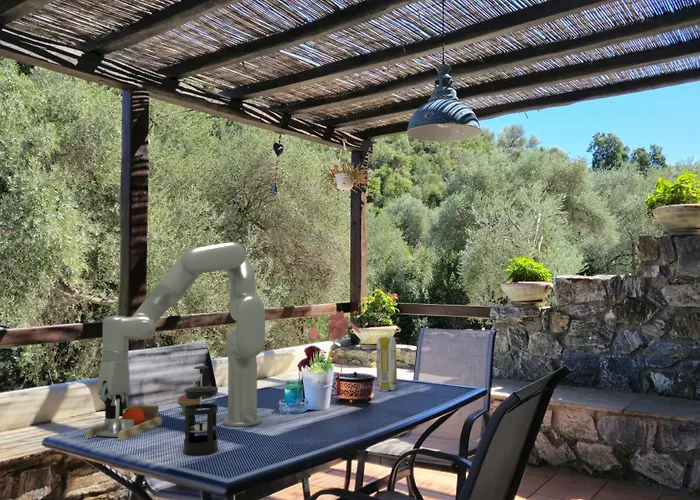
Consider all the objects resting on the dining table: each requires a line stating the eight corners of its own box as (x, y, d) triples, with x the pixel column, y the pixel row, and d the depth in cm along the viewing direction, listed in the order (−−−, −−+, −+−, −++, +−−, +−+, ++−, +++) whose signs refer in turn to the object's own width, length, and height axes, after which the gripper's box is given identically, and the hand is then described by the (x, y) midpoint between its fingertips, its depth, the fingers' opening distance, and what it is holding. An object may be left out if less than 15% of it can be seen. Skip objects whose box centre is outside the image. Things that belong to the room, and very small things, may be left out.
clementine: (125, 433, 185) (125, 409, 185) (114, 429, 189) (114, 407, 190) (148, 428, 191) (148, 405, 191) (137, 425, 195) (137, 403, 196)
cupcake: (190, 410, 220) (190, 377, 221) (207, 412, 216) (207, 378, 216) (172, 414, 212) (172, 380, 213) (189, 416, 208) (190, 382, 209)
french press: (226, 451, 162) (227, 366, 164) (196, 458, 156) (197, 369, 157) (202, 444, 170) (203, 362, 172) (172, 450, 163) (173, 366, 165)
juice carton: (394, 392, 255) (393, 335, 257) (376, 391, 257) (375, 335, 258) (397, 388, 264) (396, 334, 266) (380, 388, 266) (379, 334, 268)
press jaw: (107, 431, 185) (108, 396, 186) (133, 432, 183) (134, 397, 184) (95, 435, 180) (96, 400, 181) (122, 437, 178) (123, 401, 178)
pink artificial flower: (303, 395, 248) (305, 311, 250) (349, 388, 266) (350, 309, 268) (327, 401, 237) (328, 312, 239) (373, 393, 255) (374, 311, 256)
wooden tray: (127, 423, 199) (128, 404, 199) (161, 424, 196) (161, 406, 196) (84, 439, 177) (85, 418, 178) (121, 441, 175) (122, 420, 175)
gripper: (120, 353, 191) (119, 411, 190) (87, 359, 175) (85, 422, 174) (141, 353, 190) (140, 412, 189) (110, 359, 174) (108, 423, 173)
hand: (114, 416), depth 181 cm, fingers closed on press jaw, 3 cm apart
